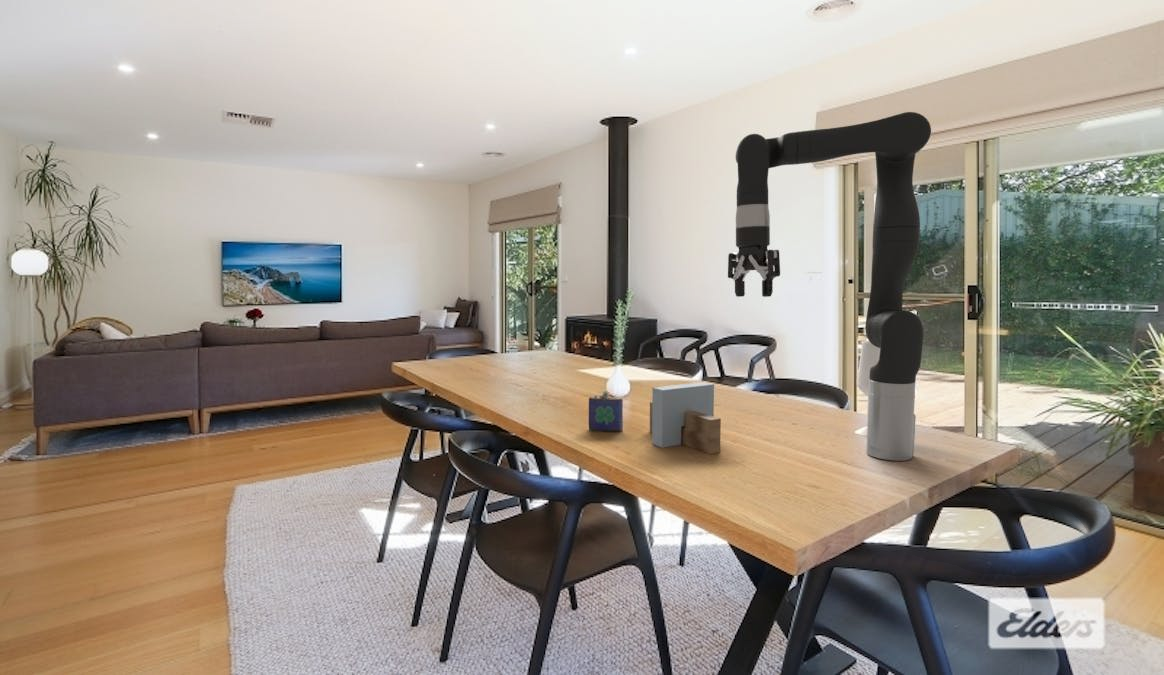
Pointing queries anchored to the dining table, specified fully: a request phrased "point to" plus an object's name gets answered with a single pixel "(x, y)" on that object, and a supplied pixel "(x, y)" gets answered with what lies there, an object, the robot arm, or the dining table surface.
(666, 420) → the tall grey upright block
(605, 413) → the flask
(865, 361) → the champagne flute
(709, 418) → the walnut slotted plate
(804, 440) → the dining table surface
